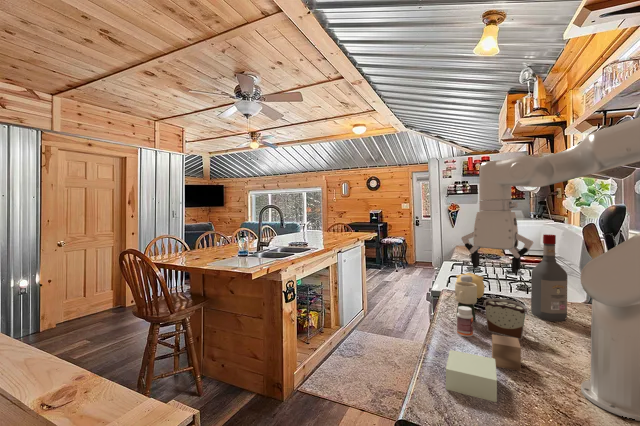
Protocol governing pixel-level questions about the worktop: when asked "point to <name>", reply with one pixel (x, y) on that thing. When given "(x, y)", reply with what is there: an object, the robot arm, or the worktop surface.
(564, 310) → the liquor
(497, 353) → the walnut block
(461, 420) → the worktop surface
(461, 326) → the pill bottle
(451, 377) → the sage block
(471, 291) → the character mug
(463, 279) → the salt shaker
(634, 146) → the robot arm
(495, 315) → the food container
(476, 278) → the sculpture
